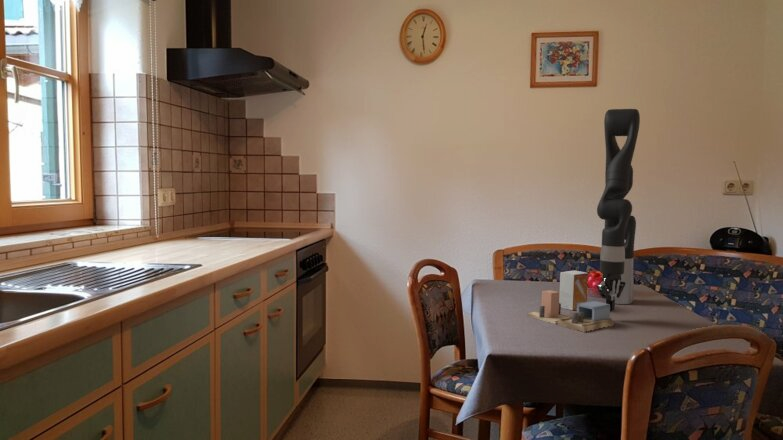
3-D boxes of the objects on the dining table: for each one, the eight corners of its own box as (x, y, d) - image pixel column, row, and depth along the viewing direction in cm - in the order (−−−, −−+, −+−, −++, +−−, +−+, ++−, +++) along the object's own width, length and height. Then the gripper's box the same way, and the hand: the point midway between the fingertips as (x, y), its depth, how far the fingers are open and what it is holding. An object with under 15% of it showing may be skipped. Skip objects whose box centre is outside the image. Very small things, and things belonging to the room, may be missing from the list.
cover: (592, 315, 185) (592, 300, 184) (609, 319, 179) (610, 304, 179) (576, 318, 180) (577, 303, 180) (593, 322, 175) (594, 307, 174)
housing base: (587, 318, 186) (588, 305, 186) (613, 325, 178) (614, 311, 178) (557, 324, 178) (558, 310, 178) (584, 332, 170) (584, 317, 169)
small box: (572, 310, 197) (574, 274, 196) (558, 307, 203) (559, 271, 202) (587, 308, 202) (588, 272, 201) (573, 304, 207) (574, 270, 206)
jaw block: (549, 313, 189) (550, 290, 188) (558, 315, 186) (559, 292, 185) (541, 314, 187) (541, 291, 186) (550, 317, 183) (551, 293, 183)
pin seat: (545, 312, 194) (545, 299, 194) (574, 320, 184) (574, 306, 184) (526, 316, 189) (526, 303, 188) (554, 324, 179) (555, 310, 178)
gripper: (610, 262, 177) (607, 315, 178) (634, 259, 184) (632, 310, 185) (589, 259, 183) (587, 311, 184) (614, 256, 190) (612, 306, 191)
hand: (610, 310), depth 185 cm, fingers closed
